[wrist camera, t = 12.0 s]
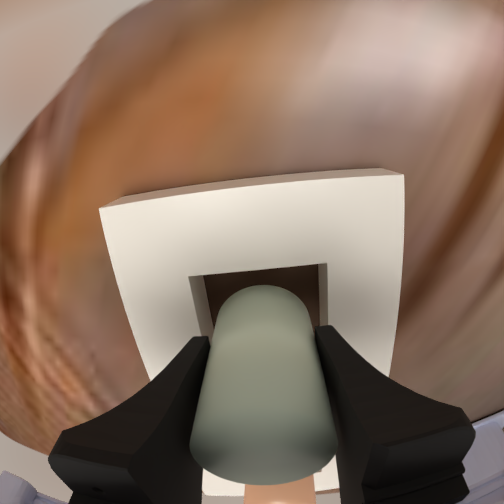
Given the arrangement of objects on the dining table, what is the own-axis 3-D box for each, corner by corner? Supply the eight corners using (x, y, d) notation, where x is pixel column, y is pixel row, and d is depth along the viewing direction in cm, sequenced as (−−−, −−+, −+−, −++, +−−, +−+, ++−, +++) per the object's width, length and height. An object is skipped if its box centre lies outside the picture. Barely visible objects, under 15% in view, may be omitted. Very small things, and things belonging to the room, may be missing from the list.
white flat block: (355, 459, 21) (361, 483, 18) (208, 471, 22) (205, 495, 19) (381, 168, 13) (403, 174, 11) (122, 196, 14) (98, 208, 12)
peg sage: (311, 358, 14) (333, 478, 8) (224, 365, 14) (207, 485, 8) (308, 280, 13) (343, 399, 7) (209, 289, 13) (171, 409, 7)
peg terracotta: (310, 438, 20) (318, 516, 14) (255, 445, 20) (252, 522, 14) (304, 404, 18) (313, 495, 12) (241, 413, 19) (234, 501, 13)
